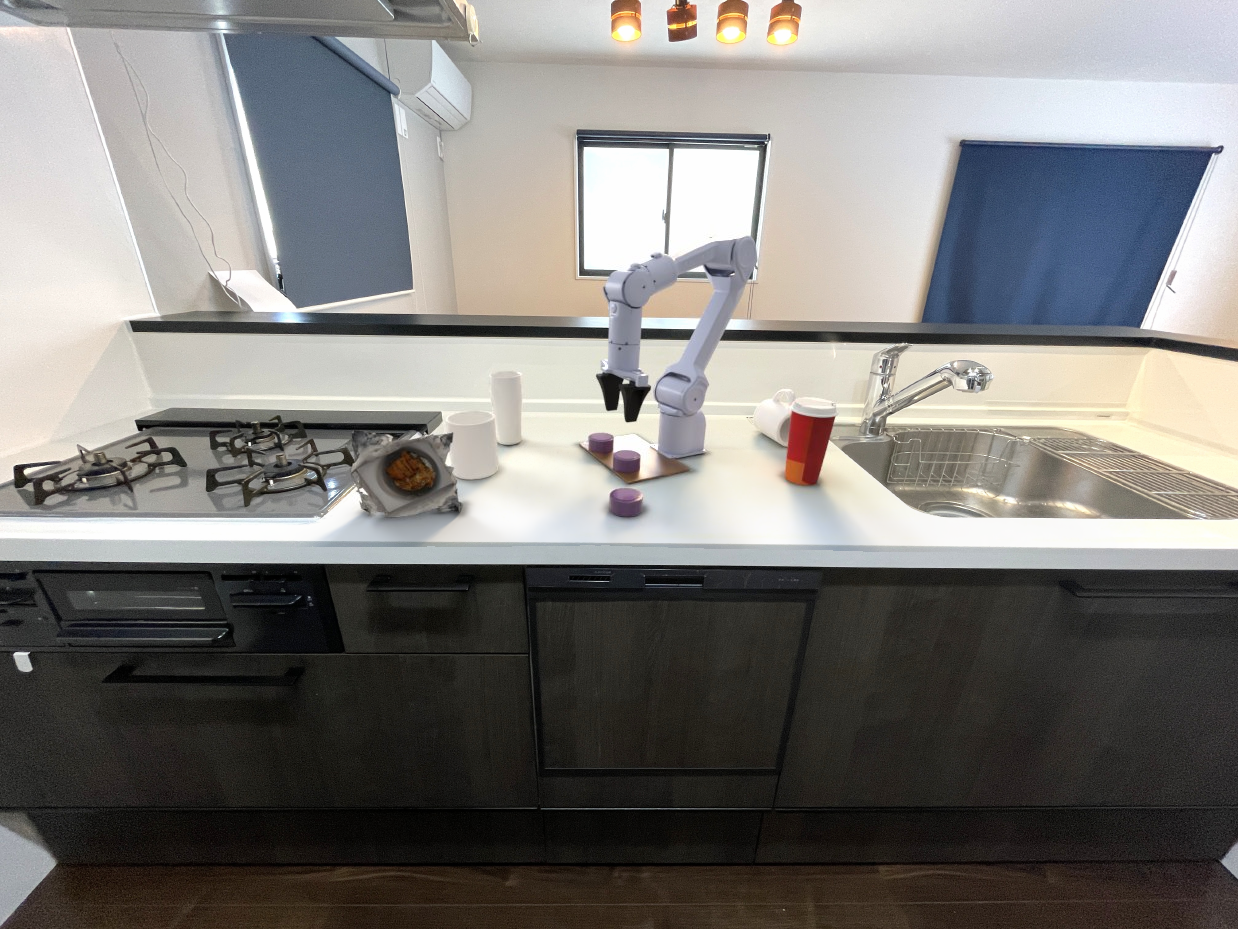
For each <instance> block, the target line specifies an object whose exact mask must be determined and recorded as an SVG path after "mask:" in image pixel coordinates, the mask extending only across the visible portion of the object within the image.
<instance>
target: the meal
mask: <svg viewBox="0 0 1238 929" xmlns="http://www.w3.org/2000/svg"><path fill="white" fill-rule="evenodd" d="M393 439H394V436H392V435H391V434H388V433H376V432H370V431H365V430H361V429H360V430H359V429H357V430H356V429H354V430H353V431H351V446H352V449H353V457H354V463H352V466H351V470H349V471H350V476H351V479H352V480H353V482H354V485H355V487H356V489H357V490H355V492H356V493H357V494H359V497H360V500H359V506H360V509H361V510H363V511H365V512H367V513H368V514H376V513H382V514H384V515H385V518H386V519H387V518H401V517H410V516H415V515H420V514H422V513H423V514H424V513H426V512H430V511H437V512H441V511H449V510H452V511H456V512H459V513H461V512H462V510H463V509H462V508H463V505H464V504H463V502H461V501H459V494H458V492H459V490H458V487H457V484H458V480H457V479H456V476H455V475H454V474H453V470H454V467H451V465H450V466H449V465H447V464H446V462H447V459H448V454H450V453H449V451H450V445H451V443H452V442H453V432H452V433H448V434H447V433H441V434H434V433H431V434H427V433H425V434H424V435H421V436H419V437H417V438H411V439H397V440H393ZM354 473H356V475H357V476H358V477H359V478H358V480H357V478H356V477H355V476H354ZM361 489H362V490H364V492H365V493H366V494H365V493H364V492H363V491H361Z"/></svg>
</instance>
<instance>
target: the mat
mask: <svg viewBox="0 0 1238 929" xmlns="http://www.w3.org/2000/svg"><path fill="white" fill-rule="evenodd" d="M650 445H652V444H651V443H650V442H648V441H647V440H645V439H643V438H642V437H640V436H639V435H637V434H635V433H632V434H625V435H619V436H614V449H613V451H611V452H608V453H595V452H592V451H590V450H589V449H588V441H583V442H578V446H580V447H581V448H583V449H584V450H585V451H586V452H588V454H590V455H591V456H592V457H594V458H595V459H597V461H598V462H600V463H601V464H603V465H604V466H605V467H606V468H607V469H609V470H610V471H611V472H612V473H614V475H616V476H617V477H618V478H620V479H621V480H622V481H623V482H625V483H626V484H628V485H631V484H635V483H639V482H645V481H650V480H653V479H659V478H663V477H668V476H673V475H678V474H683V473H686V472H687V473H688V472H691V471H692V469H691V468H690V467H688V466H687V465H685V464H684V463H682V462H681V461H679V460H678V459H677V458H676V459H674V458H672V459H669V458H667V457H666V456H664V455H662V454H661V453H659V452H658V451H656V450H654V449H653V448H651V447H650ZM620 450H632V451H636V452H638V453H640V455H641V465H640V470H638V471H636V472H633V473H622V472H618V471H616V470H614V469H613V454H614V453H615V452H617V451H620Z"/></svg>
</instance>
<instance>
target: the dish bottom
mask: <svg viewBox="0 0 1238 929" xmlns="http://www.w3.org/2000/svg"><path fill="white" fill-rule="evenodd" d="M643 497H644V495H643V493H642V492H641V491H640V490H638V489H636V488H632V487H618V488H615V489H613V490H612V491H610V493H609V503H608V504H609V505H608V507H609V509H608V510H609V511H610V513H612V514H613V515H615V516H618V517H623V518H631V517H635V516H637V515H638V516H639V514H641V513H642V511H643V500H644V499H643Z"/></svg>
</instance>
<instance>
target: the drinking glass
mask: <svg viewBox="0 0 1238 929" xmlns="http://www.w3.org/2000/svg"><path fill="white" fill-rule="evenodd" d="M488 387H489V397H490V403H491V409H492V413H493V414H494V415H495V424H496V437H497V443H498V444H500V445H504V446H512V445H513V446H514V445H517V444H519V443H521V441H522V440H523V435H522V433H523V432H522V429H523V428H522V427H523V426H522V425H523V395H524V394H523V393H524V392H523V377H522V373H521V372H520V371H517V370H495V371H491V372H489V373H488Z"/></svg>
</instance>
